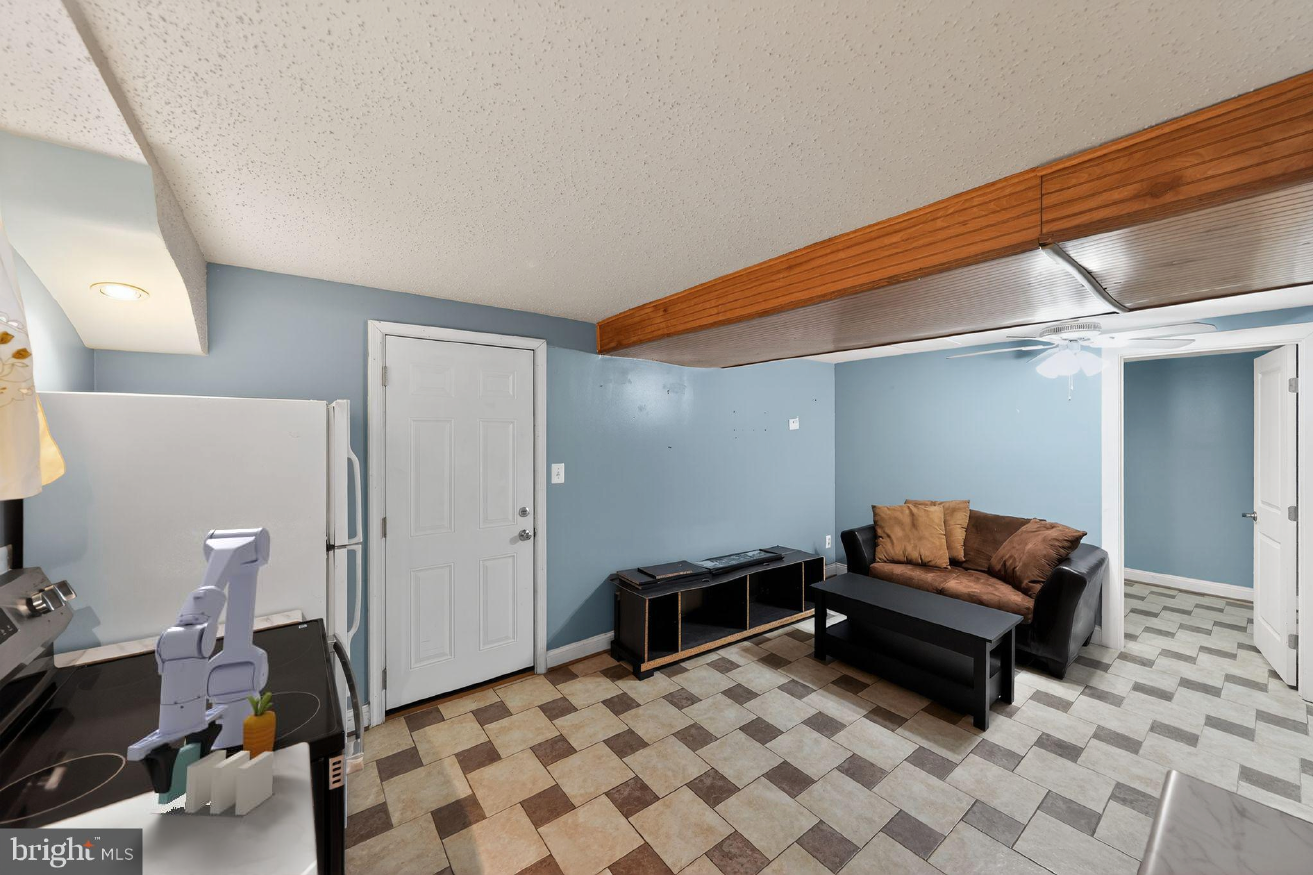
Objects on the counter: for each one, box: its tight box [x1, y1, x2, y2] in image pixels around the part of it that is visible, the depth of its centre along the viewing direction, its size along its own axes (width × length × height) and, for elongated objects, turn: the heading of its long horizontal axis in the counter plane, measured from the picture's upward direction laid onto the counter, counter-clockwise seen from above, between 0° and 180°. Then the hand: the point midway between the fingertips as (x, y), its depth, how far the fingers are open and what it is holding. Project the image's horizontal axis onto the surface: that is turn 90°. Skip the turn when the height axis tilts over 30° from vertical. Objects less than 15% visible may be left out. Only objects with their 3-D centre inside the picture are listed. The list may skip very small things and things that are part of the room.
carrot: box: [242, 691, 277, 761], centre depth 90 cm, size 5×5×15 cm
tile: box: [157, 743, 201, 805], centre depth 83 cm, size 2×5×7 cm, turn 174°
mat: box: [165, 792, 276, 818], centre depth 82 cm, size 16×6×1 cm, turn 84°
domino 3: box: [235, 751, 275, 816], centre depth 82 cm, size 2×5×7 cm, turn 174°
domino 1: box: [185, 749, 227, 813], centre depth 83 cm, size 2×5×7 cm, turn 174°
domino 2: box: [210, 750, 250, 814], centre depth 82 cm, size 2×5×7 cm, turn 174°
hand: (179, 782), depth 83 cm, fingers closed on tile, 5 cm apart
